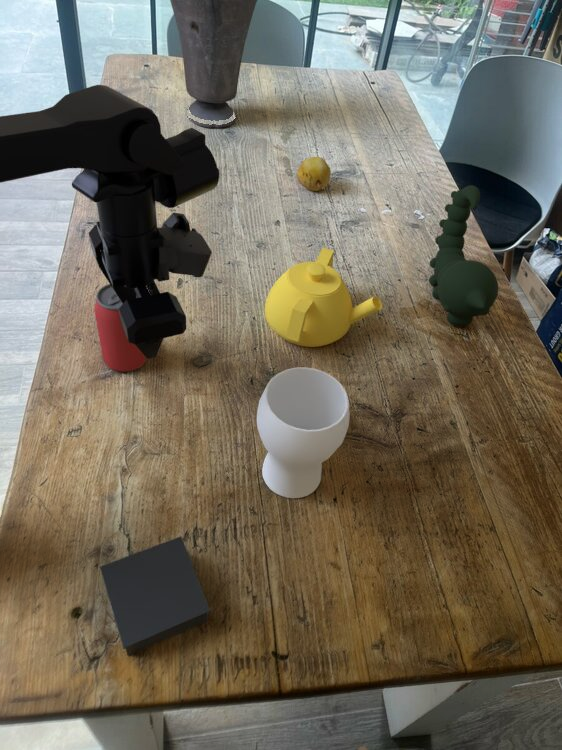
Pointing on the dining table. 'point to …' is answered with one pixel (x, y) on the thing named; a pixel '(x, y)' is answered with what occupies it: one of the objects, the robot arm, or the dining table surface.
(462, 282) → the toy figurine
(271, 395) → the cup
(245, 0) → the vase
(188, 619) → the block
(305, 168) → the fruit
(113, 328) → the beer can
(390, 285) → the dining table surface
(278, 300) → the teapot
